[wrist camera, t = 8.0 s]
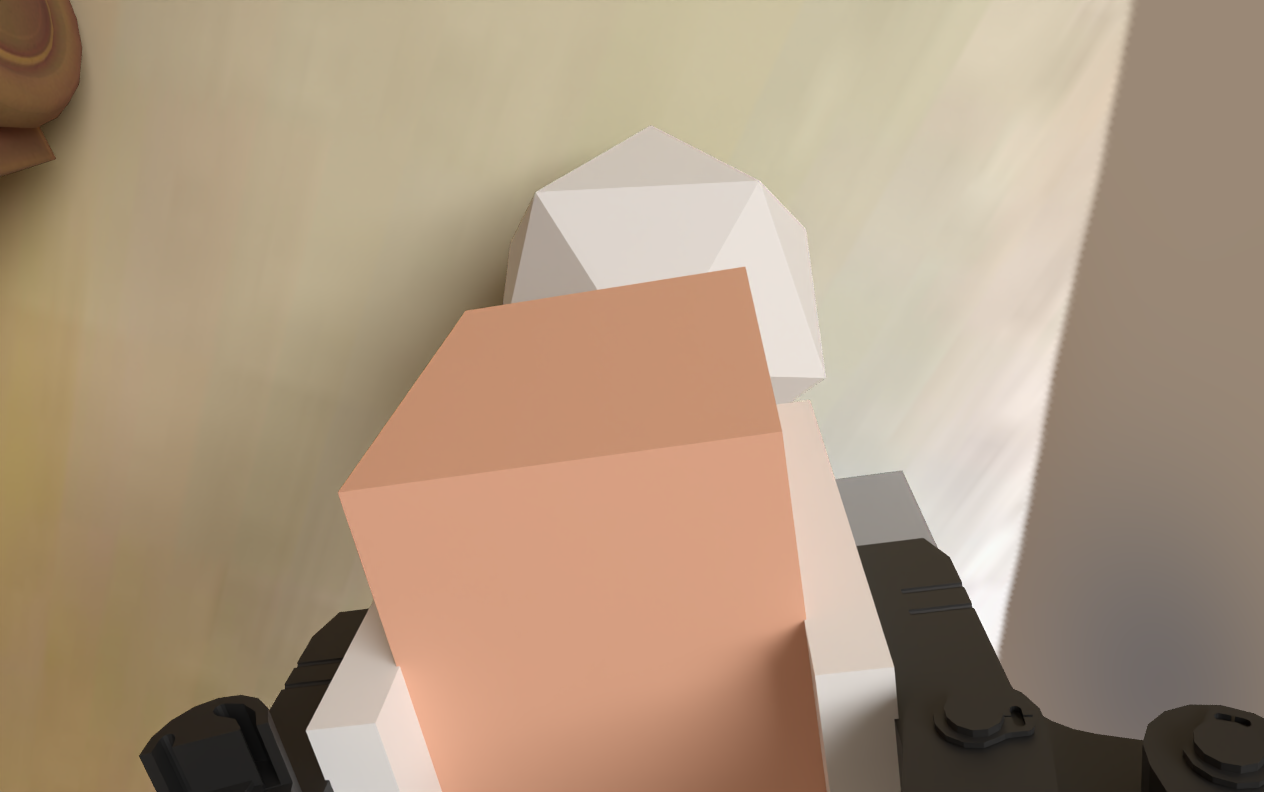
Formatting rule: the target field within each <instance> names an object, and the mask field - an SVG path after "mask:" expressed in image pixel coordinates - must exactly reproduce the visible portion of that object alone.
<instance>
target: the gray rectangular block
mask: <svg viewBox="0 0 1264 792" xmlns="http://www.w3.org/2000/svg"><path fill="white" fill-rule="evenodd" d="M835 481H836V484H837V487H838V490H839V493H840V496H841V500H842V503H843V506H844V509H845V512H846V515H847V519H848V522H849V525H850V528H851V531H852V535H853V538H854V541H855V544H856V546H860V545H868V544H877V543H885V542H893V541H901V540H909V539H917V538H925V539H926V540H927V541H929V542H930V543H931V544H933V545H934V546H935V547H937V545H936V543H935V541H934V539H933V537H932V535H931V532H930V530H929V528H928V526H927V524H926V521H925V519H924V517H923V515H922V513H921V511H920V508H919V506H918V504H917V502H916V500H915V497H914V495H913V493H912V491H911V489H910V487H909V484H908V482H907V480H906V478H905V476H904V473H903V471H895V472H887V473H880V474H872V475H865V476H857V477H849V478H842V479H835Z"/></svg>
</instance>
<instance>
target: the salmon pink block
mask: <svg viewBox="0 0 1264 792" xmlns="http://www.w3.org/2000/svg"><path fill="white" fill-rule="evenodd" d="M338 495H339V498H340V500H341V503H342V506H343V509H344V512H345V515H346V518H347V521H348V524H349V527H350V530H351V533H352V536H353V539H354V542H355V545H356V548H357V551H358V554H359V557H360V560H361V563H362V566H363V569H364V572H365V574H366V577H367V580H368V583H369V586H370V589H371V592H372V595H373V598H374V601H375V604H376V607H377V610H378V613H379V616H380V619H381V622H382V625H383V628H384V631H385V634H386V637H387V640H388V643H389V646H390V648H391V651H392V654H393V657H394V660H395V663H396V666H400V668H401V671H402V674H403V677H404V680H405V683H406V686H407V689H408V692H409V695H410V698H411V701H412V704H413V707H414V710H415V713H416V716H417V719H418V722H419V725H420V728H421V731H422V734H423V737H424V740H425V743H426V745H427V748H428V751H429V754H430V757H431V760H432V763H433V766H434V769H435V772H436V775H437V778H438V781H439V784H440V787H441V790H442V792H827V790H826V783H825V775H824V767H823V760H822V752H821V744H820V737H819V729H818V721H817V714H816V706H815V699H814V691H813V683H812V676H811V668H810V660H809V653H808V645H807V637H806V630H805V622H804V620H806V612H805V604H804V596H803V589H802V581H801V573H800V565H799V558H798V550H797V542H796V534H795V527H794V519H793V511H792V503H791V496H790V488H789V480H788V472H787V464H786V457H785V449H784V441H783V433H782V428H781V424H780V419H779V415H778V410H777V406H776V401H775V397H774V392H773V388H772V383H771V379H770V374H769V370H768V365H767V361H766V356H765V352H764V348H763V343H762V339H761V334H760V330H759V325H758V321H757V316H756V312H755V307H754V303H753V298H752V294H751V289H750V285H749V280H748V276H747V271H746V267H739V268H732V269H726V270H720V271H713V272H707V273H701V274H694V275H688V276H682V277H675V278H669V279H663V280H657V281H650V282H644V283H638V284H631V285H625V286H619V287H612V288H606V289H600V290H593V291H587V292H581V293H574V294H568V295H562V296H555V297H549V298H543V299H536V300H530V301H524V302H518V303H511V304H505V305H499V306H492V307H486V308H480V309H473V310H467V311H465V312H464V314H463V315H462V316H461V318H460V319H459V321H458V322H457V324H456V325H455V326H454V328H453V329H452V331H451V332H450V333H449V335H448V336H447V338H446V339H445V341H444V342H443V343H442V345H441V346H440V348H439V349H438V351H437V352H436V353H435V355H434V356H433V358H432V359H431V361H430V362H429V363H428V365H427V366H426V368H425V369H424V370H423V372H422V373H421V375H420V376H419V378H418V379H417V380H416V382H415V383H414V385H413V386H412V388H411V389H410V390H409V392H408V393H407V395H406V396H405V398H404V399H403V400H402V402H401V403H400V405H399V406H398V408H397V409H396V410H395V412H394V413H393V415H392V416H391V417H390V419H389V420H388V422H387V423H386V425H385V426H384V427H383V429H382V430H381V432H380V433H379V435H378V436H377V437H376V439H375V440H374V442H373V443H372V445H371V446H370V447H369V449H368V450H367V452H366V453H365V454H364V456H363V457H362V459H361V460H360V462H359V463H358V464H357V466H356V467H355V469H354V470H353V472H352V473H351V474H350V476H349V477H348V479H347V480H346V482H345V483H344V484H343V486H342V487H341V489H340V490H339V491H338Z"/></svg>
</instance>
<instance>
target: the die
mask: <svg viewBox="0 0 1264 792" xmlns="http://www.w3.org/2000/svg"><path fill="white" fill-rule="evenodd" d="M739 267H746V271H747V276H748V280H749V285H750V289H751V294H752V298H753V303H754V307H755V312H756V316H757V321H758V325H759V330H760V334H761V339H762V343H763V348H764V352H765V356H766V361H767V365H768V370H769V374H770V379H771V383H772V388H773V392H774V397H775V401H776V404H783V403H790V402H792V401H794V400H795V399H796V398H798V397H799V396H801V395H802V394H804V393H805V392H807V391H808V390H809V389H811V388H812V387H814V386H815V385H817V384H818V383H820V382H821V381H822V380H824V379H825V378H826V374H825V366H824V359H823V351H822V344H821V336H820V329H819V322H818V314H817V307H816V299H815V292H814V284H813V277H812V269H811V262H810V254H809V247H808V240H807V232H806V228H805V227H804V226H803V225H802V224H801V223H800V222H799V221H798V220H797V219H796V218H795V217H794V216H793V215H792V214H791V213H790V212H789V211H788V210H787V209H786V208H785V207H784V205H783V204H782V203H781V202H780V201H779V200H778V199H777V198H776V197H775V196H774V195H773V194H772V193H771V192H770V191H769V190H768V189H767V188H766V187H765V186H764V185H763V184H762V183H761V181H759V180H758V179H756V178H754V177H752V176H750V175H748V174H746V173H744V172H742V171H740V170H738V169H736V168H734V167H732V166H730V165H728V164H726V163H724V162H722V161H720V160H718V159H716V158H714V157H712V156H711V155H709V154H707V153H705V152H703V151H701V150H699V149H697V148H695V147H693V146H691V145H689V144H687V143H685V142H683V141H681V140H679V139H677V138H675V137H673V136H671V135H669V134H667V133H665V132H664V131H662V130H660V129H658V128H656V127H654V126H652V125H650V126H648V127H647V128H645V129H643V130H642V131H640V132H638V133H636V134H635V135H633V136H631V137H629V138H628V139H626V140H624V141H623V142H621V143H619V144H617V145H616V146H614V147H612V148H610V149H609V150H607V151H605V152H604V153H602V154H600V155H598V156H597V157H595V158H593V159H591V160H590V161H588V162H586V163H585V164H583V165H581V166H579V167H578V168H576V169H574V170H572V171H571V172H569V173H567V174H566V175H564V176H562V177H560V178H559V179H557V180H555V181H554V182H552V183H550V184H548V185H547V186H545V187H543V188H541V189H540V190H538V191H536V192H535V194H534V196H533V198H532V200H531V202H530V204H529V206H528V208H527V210H526V212H525V214H524V216H523V218H522V220H521V222H520V224H519V226H518V228H517V230H516V232H515V234H514V236H513V238H512V240H511V242H510V249H509V257H508V265H507V273H506V282H505V290H504V298H503V305H505V304H511V303H518V302H524V301H530V300H536V299H543V298H549V297H555V296H562V295H568V294H574V293H581V292H587V291H593V290H600V289H606V288H612V287H619V286H625V285H631V284H638V283H644V282H650V281H657V280H663V279H669V278H675V277H682V276H688V275H694V274H701V273H707V272H713V271H720V270H726V269H732V268H739Z"/></svg>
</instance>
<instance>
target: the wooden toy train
mask: <svg viewBox="0 0 1264 792" xmlns="http://www.w3.org/2000/svg"><path fill="white" fill-rule="evenodd" d="M81 56H82V45H81V40H80V35H79V29H78V24H77V19H76V16H75V14H74V11H73V8H72V6H71V3H70V1H69V0H0V177H2V176H5V175H8V174H11V173H14V172H17V171H20V170H23V169H26V168H30V167H33V166H36V165H39V164H42V163H45V162H48V161H51V160H54V159H56V158H55V156H54V154H53V152H52V150H51V148H50V146H49V144H48V142H47V140H46V138H45V136H44V134H43V132H42V131H41V129H40V127H39V126H41V125H43V124H45V123H47V122H49V121H51V120H53V119H55V118H57V117H58V116H59V114H60V113H61V112H62V111H63V109H64V108H65V107H66V106H67V104H68V103H69V101H70V99H71V98H72V96H73V94H74V92H75V91H76V89H77V87H78V85H79V79H80V68H81Z"/></svg>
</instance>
